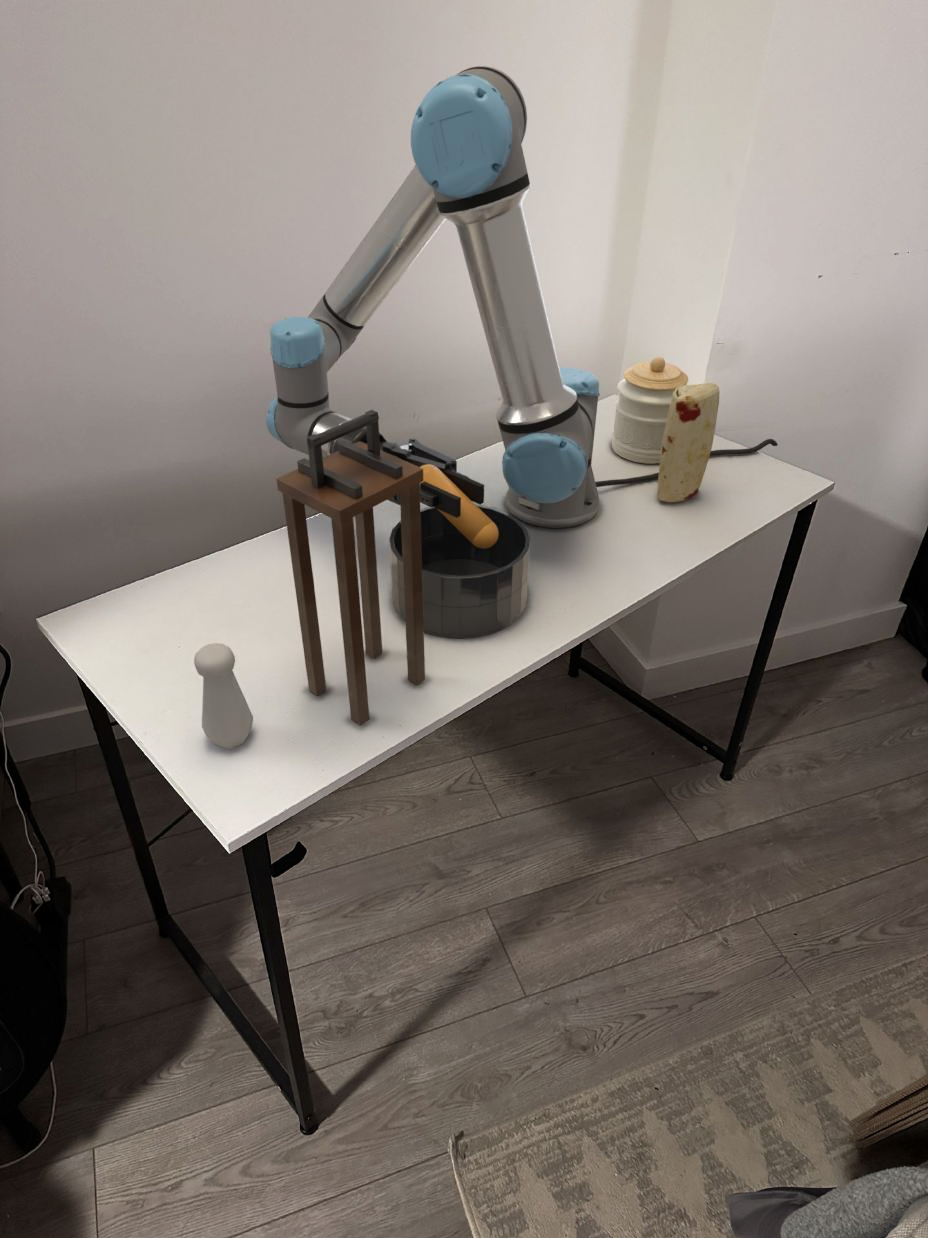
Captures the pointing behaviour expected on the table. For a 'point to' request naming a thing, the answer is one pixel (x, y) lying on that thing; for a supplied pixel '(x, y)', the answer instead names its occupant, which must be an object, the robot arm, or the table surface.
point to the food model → (687, 441)
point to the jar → (644, 409)
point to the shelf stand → (354, 549)
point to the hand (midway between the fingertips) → (470, 501)
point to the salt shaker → (222, 697)
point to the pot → (466, 575)
